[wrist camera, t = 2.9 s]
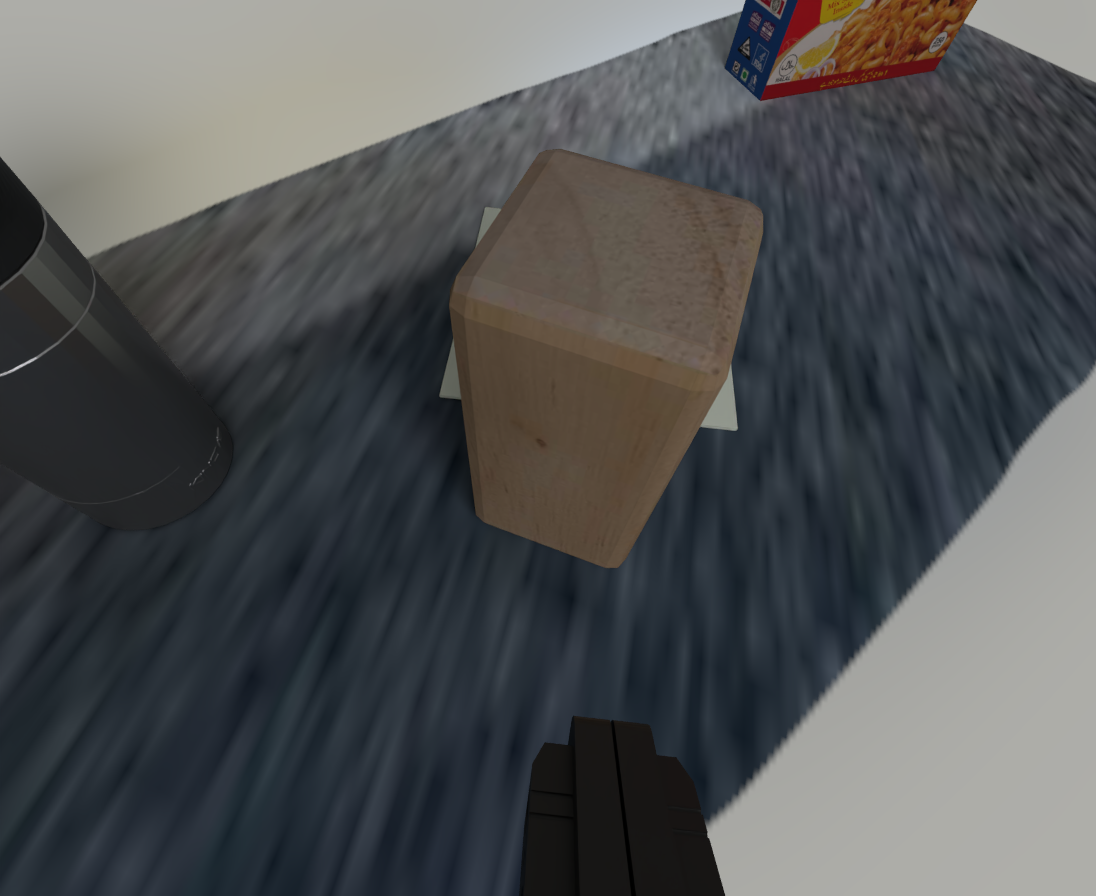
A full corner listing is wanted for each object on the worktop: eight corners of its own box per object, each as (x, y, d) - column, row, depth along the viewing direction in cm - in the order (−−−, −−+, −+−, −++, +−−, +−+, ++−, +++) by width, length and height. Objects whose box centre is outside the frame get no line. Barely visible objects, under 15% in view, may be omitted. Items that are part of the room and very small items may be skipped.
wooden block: (470, 523, 35) (434, 286, 18) (527, 406, 40) (541, 132, 23) (618, 578, 34) (732, 381, 16) (657, 450, 39) (776, 196, 21)
